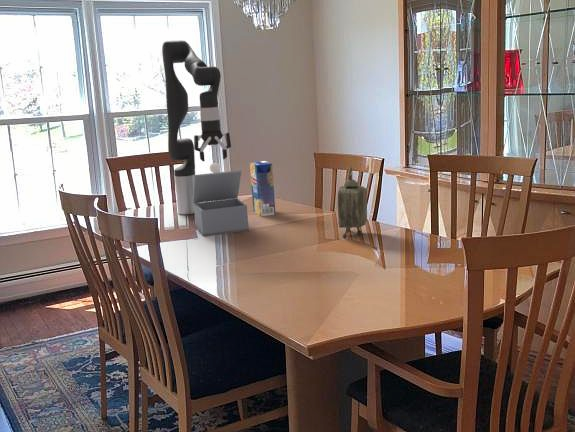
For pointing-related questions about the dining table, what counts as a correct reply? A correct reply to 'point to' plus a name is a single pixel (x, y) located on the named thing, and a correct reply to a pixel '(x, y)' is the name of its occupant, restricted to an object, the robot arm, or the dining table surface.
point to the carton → (221, 217)
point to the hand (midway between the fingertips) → (213, 160)
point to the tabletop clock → (352, 205)
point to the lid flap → (216, 185)
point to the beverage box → (262, 188)
